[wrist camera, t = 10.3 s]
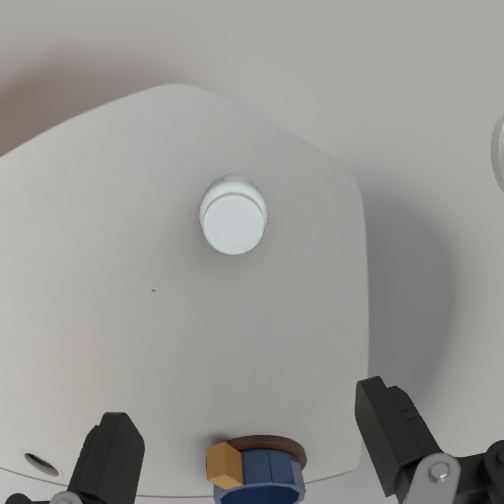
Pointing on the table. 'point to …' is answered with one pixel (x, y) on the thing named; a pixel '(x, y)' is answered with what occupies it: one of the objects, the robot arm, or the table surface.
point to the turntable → (270, 446)
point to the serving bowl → (254, 476)
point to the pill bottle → (233, 215)
